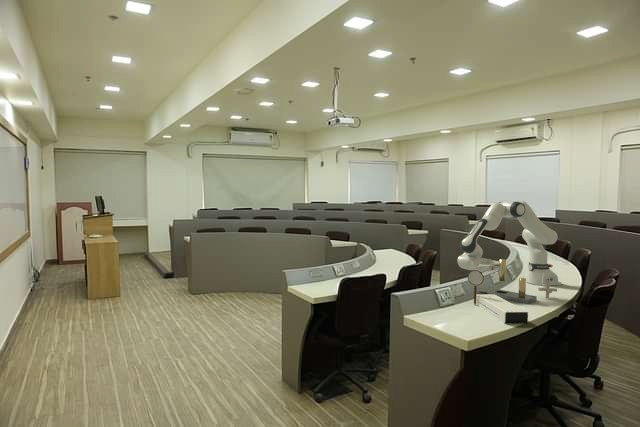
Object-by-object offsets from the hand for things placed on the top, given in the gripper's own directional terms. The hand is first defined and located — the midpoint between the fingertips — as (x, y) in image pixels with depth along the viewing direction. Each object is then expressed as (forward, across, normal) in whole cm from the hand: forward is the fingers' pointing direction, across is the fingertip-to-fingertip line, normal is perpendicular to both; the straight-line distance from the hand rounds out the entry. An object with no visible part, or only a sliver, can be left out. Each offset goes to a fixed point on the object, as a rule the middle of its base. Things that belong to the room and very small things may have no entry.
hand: (503, 268), depth 249 cm
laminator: (+15, -35, +18) cm, 43 cm away
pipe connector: (+19, +18, +18) cm, 31 cm away
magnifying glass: (-2, -31, +18) cm, 36 cm away
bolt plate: (+5, 0, +18) cm, 18 cm away
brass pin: (-1, 0, +8) cm, 8 cm away
